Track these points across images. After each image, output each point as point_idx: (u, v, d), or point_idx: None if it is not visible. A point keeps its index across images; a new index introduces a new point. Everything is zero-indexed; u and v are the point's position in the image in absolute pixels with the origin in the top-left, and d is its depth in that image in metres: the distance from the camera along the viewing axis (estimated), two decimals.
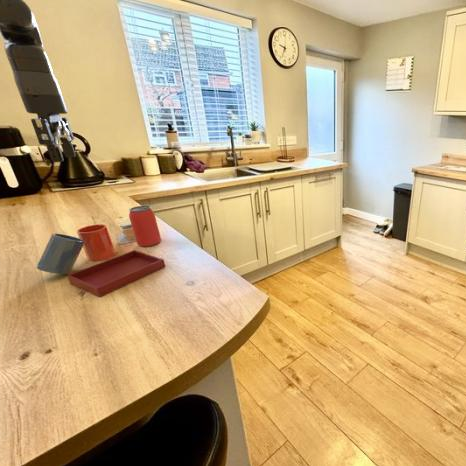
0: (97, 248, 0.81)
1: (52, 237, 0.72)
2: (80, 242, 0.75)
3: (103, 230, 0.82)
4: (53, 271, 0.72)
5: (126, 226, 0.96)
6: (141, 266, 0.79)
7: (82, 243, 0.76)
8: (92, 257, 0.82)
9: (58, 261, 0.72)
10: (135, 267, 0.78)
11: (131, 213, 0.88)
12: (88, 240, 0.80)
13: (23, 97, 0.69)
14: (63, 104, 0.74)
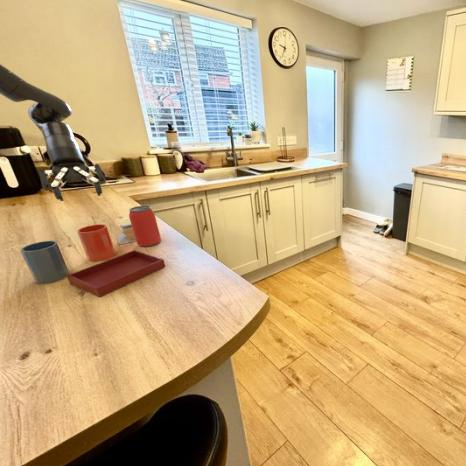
0: (97, 248, 0.81)
1: (23, 253, 0.68)
2: (52, 246, 0.71)
3: (103, 230, 0.82)
4: (52, 280, 0.72)
5: (126, 226, 0.96)
6: (141, 266, 0.79)
7: (55, 246, 0.72)
8: (92, 257, 0.82)
9: (47, 271, 0.71)
10: (135, 267, 0.78)
11: (131, 213, 0.88)
12: (88, 240, 0.80)
13: None
14: (63, 152, 0.86)
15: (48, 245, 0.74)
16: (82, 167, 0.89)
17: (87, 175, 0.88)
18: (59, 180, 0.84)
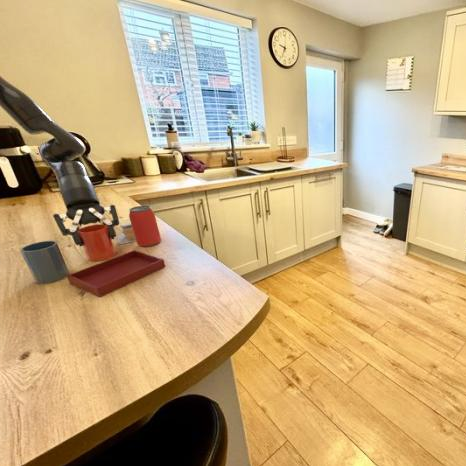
0: (97, 248, 0.81)
1: (23, 253, 0.68)
2: (52, 246, 0.71)
3: (104, 230, 0.82)
4: (52, 280, 0.72)
5: (126, 226, 0.96)
6: (141, 266, 0.79)
7: (55, 246, 0.72)
8: (92, 257, 0.82)
9: (47, 271, 0.71)
10: (135, 267, 0.78)
11: (131, 213, 0.88)
12: (89, 240, 0.80)
13: None
14: (77, 194, 0.82)
15: (48, 245, 0.74)
16: (97, 208, 0.85)
17: (103, 216, 0.84)
18: (77, 224, 0.80)
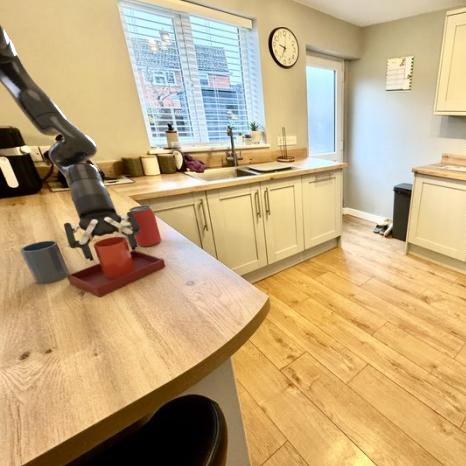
0: (116, 264, 0.72)
1: (23, 253, 0.68)
2: (52, 246, 0.71)
3: (123, 243, 0.72)
4: (52, 280, 0.72)
5: (126, 226, 0.96)
6: (141, 266, 0.79)
7: (55, 246, 0.72)
8: (110, 274, 0.72)
9: (47, 271, 0.71)
10: (135, 267, 0.78)
11: None
12: (106, 255, 0.70)
13: None
14: (92, 201, 0.72)
15: (48, 245, 0.74)
16: (113, 217, 0.75)
17: (120, 226, 0.75)
18: (88, 235, 0.70)
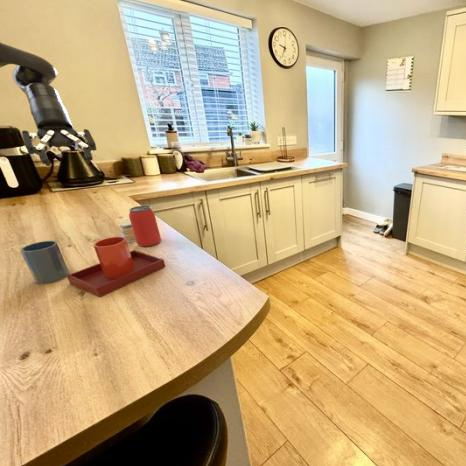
0: (116, 264, 0.72)
1: (23, 253, 0.68)
2: (52, 246, 0.71)
3: (123, 243, 0.72)
4: (52, 280, 0.72)
5: (126, 226, 0.96)
6: (141, 266, 0.79)
7: (55, 246, 0.72)
8: (110, 274, 0.72)
9: (47, 271, 0.71)
10: (135, 267, 0.78)
11: (131, 213, 0.88)
12: (106, 255, 0.70)
13: None
14: (49, 114, 0.79)
15: (48, 245, 0.74)
16: (70, 131, 0.83)
17: (76, 139, 0.82)
18: (45, 143, 0.78)
